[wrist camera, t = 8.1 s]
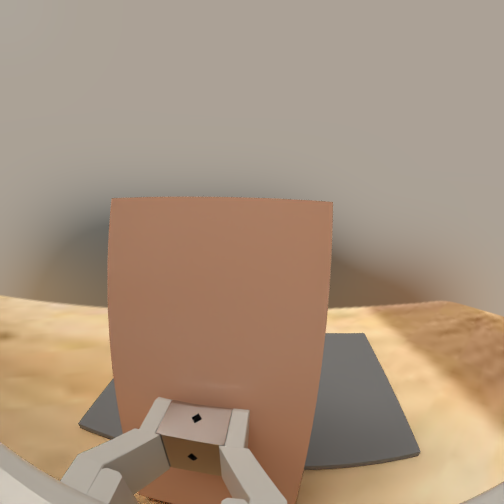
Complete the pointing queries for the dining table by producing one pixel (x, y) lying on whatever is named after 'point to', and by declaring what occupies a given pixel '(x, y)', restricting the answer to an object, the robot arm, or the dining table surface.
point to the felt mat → (325, 410)
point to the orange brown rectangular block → (221, 322)
